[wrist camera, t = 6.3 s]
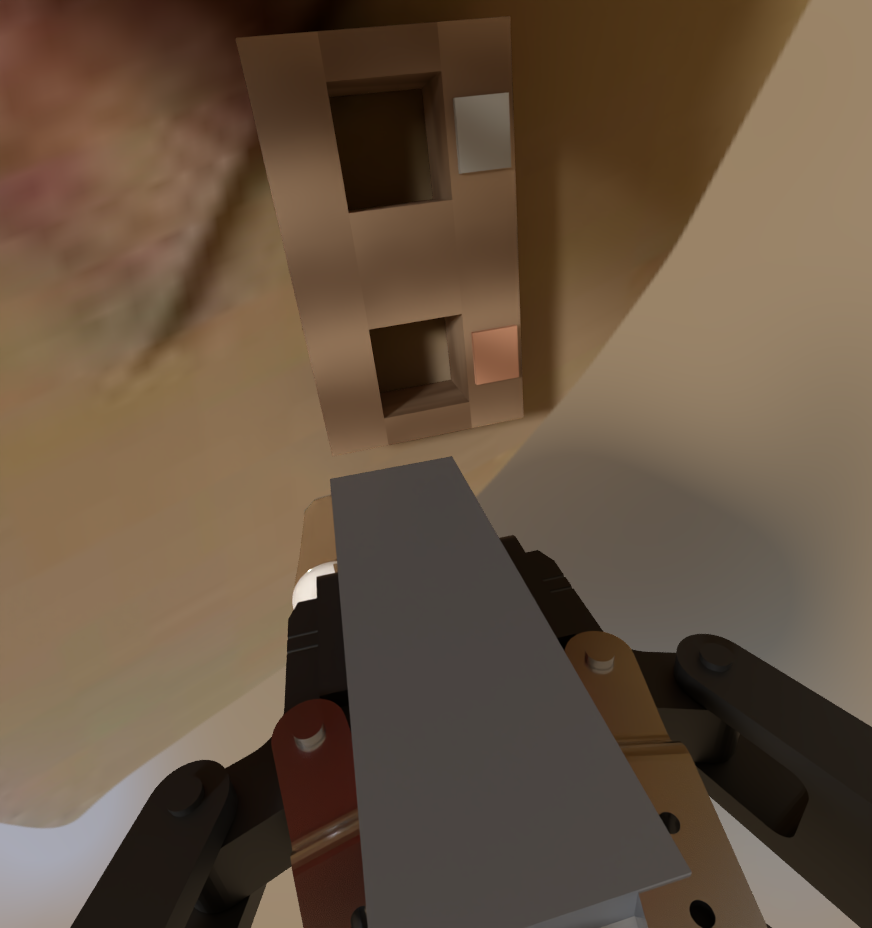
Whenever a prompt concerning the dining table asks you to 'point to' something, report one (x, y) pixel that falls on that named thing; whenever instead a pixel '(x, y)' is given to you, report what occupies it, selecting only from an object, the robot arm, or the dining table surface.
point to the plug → (475, 728)
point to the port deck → (398, 221)
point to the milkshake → (315, 549)
